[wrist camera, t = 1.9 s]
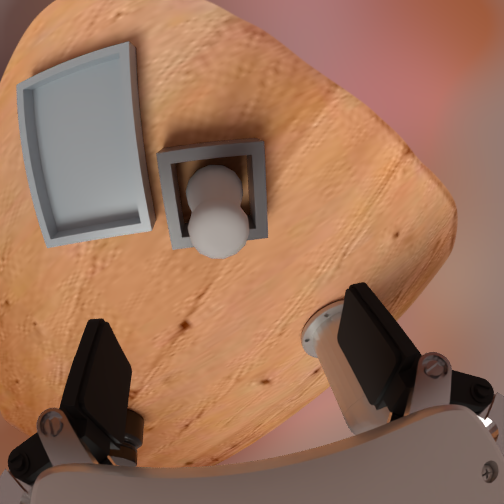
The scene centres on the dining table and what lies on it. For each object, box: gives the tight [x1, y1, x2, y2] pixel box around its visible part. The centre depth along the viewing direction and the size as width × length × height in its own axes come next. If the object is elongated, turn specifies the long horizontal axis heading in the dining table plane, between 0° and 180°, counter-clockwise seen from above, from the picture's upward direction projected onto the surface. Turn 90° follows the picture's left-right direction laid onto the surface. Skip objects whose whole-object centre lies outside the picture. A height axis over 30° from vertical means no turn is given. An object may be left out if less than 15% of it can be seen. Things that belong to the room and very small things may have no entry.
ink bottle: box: [109, 410, 144, 467], centre depth 43 cm, size 10×9×12 cm
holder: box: [156, 138, 268, 250], centre depth 28 cm, size 10×10×4 cm
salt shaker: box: [186, 165, 249, 259], centre depth 24 cm, size 6×6×13 cm
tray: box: [17, 42, 156, 248], centre depth 23 cm, size 14×20×3 cm
